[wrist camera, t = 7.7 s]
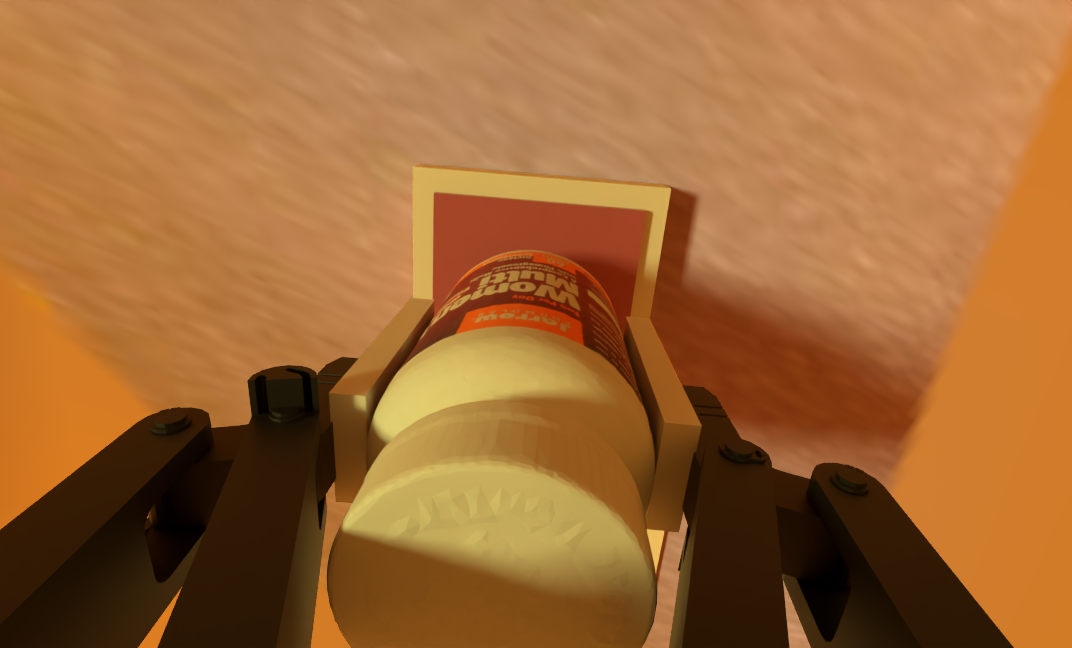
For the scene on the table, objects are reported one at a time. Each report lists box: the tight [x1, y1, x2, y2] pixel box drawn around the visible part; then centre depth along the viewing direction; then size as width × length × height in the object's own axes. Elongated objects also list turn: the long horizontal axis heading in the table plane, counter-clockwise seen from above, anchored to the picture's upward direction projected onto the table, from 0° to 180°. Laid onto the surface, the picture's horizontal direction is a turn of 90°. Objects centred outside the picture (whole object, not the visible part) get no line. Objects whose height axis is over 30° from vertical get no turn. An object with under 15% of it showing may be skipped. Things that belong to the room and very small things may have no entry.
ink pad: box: [413, 164, 671, 336], centre depth 21 cm, size 10×9×2 cm
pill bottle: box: [327, 250, 657, 648], centre depth 13 cm, size 6×6×11 cm
